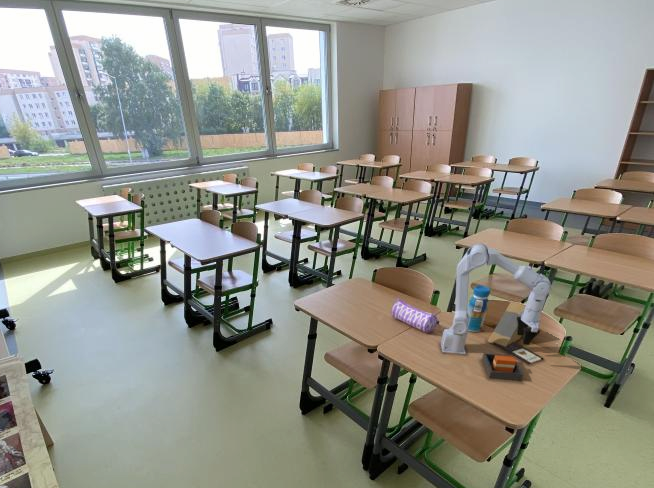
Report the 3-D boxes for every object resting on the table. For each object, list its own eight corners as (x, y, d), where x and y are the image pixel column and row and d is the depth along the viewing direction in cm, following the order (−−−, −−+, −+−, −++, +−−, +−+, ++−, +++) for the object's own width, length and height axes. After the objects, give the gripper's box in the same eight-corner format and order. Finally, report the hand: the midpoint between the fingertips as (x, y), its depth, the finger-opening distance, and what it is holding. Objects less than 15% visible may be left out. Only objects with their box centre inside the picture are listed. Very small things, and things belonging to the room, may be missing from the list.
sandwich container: (486, 341, 174) (493, 310, 167) (502, 331, 183) (511, 301, 175) (504, 348, 169) (513, 316, 161) (521, 337, 177) (530, 306, 170)
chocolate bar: (507, 338, 175) (543, 357, 162) (507, 340, 176) (542, 359, 162) (493, 342, 172) (528, 363, 158) (492, 344, 172) (527, 365, 159)
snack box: (493, 371, 154) (497, 359, 151) (491, 366, 157) (495, 355, 154) (512, 373, 153) (516, 361, 150) (510, 368, 156) (513, 356, 153)
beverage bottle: (459, 326, 186) (468, 286, 175) (471, 322, 190) (481, 283, 179) (472, 334, 180) (483, 293, 169) (485, 330, 183) (496, 289, 173)
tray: (488, 379, 150) (490, 371, 148) (481, 360, 161) (483, 352, 160) (520, 382, 149) (523, 374, 147) (511, 362, 160) (513, 355, 158)
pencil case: (438, 330, 182) (441, 311, 177) (426, 336, 177) (430, 317, 172) (399, 314, 196) (402, 296, 191) (388, 319, 191) (390, 301, 186)
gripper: (551, 317, 143) (539, 349, 150) (538, 301, 155) (527, 331, 162) (531, 316, 143) (520, 348, 151) (519, 299, 156) (509, 330, 163)
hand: (522, 339), depth 157 cm, fingers open, 7 cm apart
